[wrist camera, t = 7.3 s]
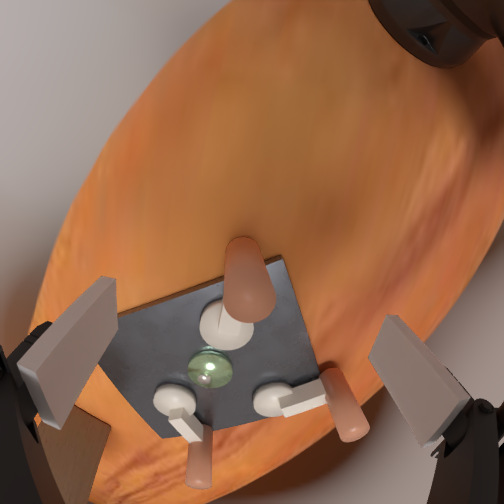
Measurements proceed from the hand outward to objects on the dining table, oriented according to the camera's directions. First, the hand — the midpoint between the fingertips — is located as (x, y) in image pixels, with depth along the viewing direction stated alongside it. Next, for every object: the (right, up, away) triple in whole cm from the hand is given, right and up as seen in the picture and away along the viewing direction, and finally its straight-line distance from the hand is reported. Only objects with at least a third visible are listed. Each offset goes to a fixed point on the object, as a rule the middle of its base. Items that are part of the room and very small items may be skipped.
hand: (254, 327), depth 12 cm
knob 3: (+5, -13, +17) cm, 22 cm away
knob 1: (-8, -17, +17) cm, 25 cm away
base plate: (-5, -10, +17) cm, 21 cm away
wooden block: (-29, -25, +20) cm, 43 cm away
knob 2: (-2, 0, +13) cm, 13 cm away
